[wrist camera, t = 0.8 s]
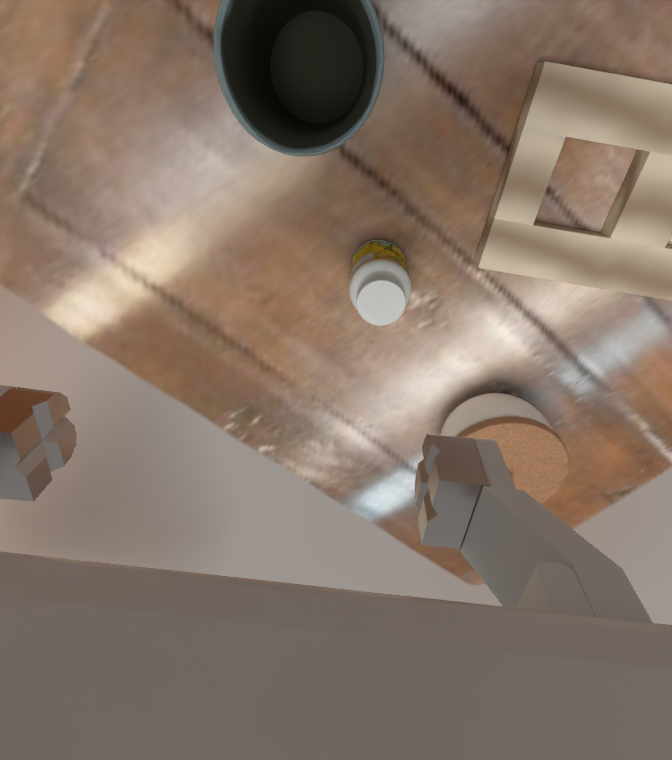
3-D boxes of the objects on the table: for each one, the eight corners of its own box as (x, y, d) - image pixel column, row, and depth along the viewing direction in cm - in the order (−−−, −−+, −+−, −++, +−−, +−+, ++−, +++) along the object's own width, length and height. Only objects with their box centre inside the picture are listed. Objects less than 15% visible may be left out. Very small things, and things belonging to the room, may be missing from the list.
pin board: (536, 62, 36) (545, 61, 34) (854, 120, 37) (877, 121, 35) (474, 261, 45) (478, 267, 43) (732, 305, 45) (747, 313, 44)
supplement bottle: (340, 261, 45) (333, 298, 37) (383, 226, 43) (387, 257, 35) (373, 301, 47) (374, 344, 39) (416, 269, 45) (427, 308, 37)
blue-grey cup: (272, -34, 34) (230, -89, 24) (399, 18, 35) (412, -13, 25) (244, 116, 39) (200, 124, 29) (356, 157, 40) (351, 179, 30)
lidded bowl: (452, 362, 51) (470, 423, 41) (560, 386, 51) (603, 452, 42) (417, 448, 57) (426, 517, 48) (513, 468, 58) (541, 540, 49)
